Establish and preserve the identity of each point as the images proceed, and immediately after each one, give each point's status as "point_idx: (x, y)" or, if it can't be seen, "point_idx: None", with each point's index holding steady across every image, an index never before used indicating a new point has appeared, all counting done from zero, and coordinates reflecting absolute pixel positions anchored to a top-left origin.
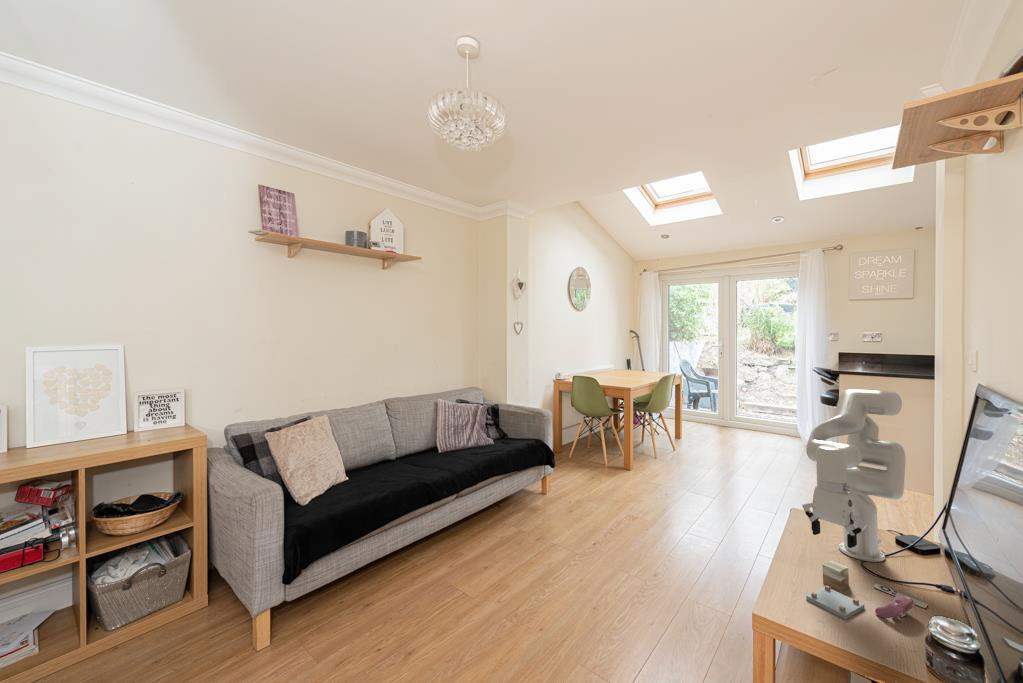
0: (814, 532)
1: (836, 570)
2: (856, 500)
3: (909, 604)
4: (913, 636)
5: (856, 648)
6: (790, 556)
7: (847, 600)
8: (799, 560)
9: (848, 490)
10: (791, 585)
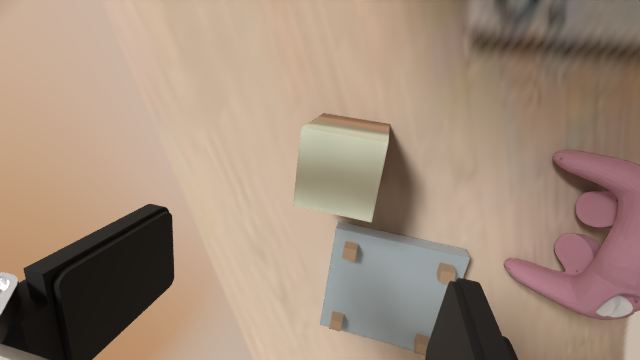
0: (154, 295)
1: (356, 217)
2: None
3: None
4: None
5: None
6: (149, 47)
7: (419, 271)
8: (184, 53)
9: None
10: (262, 267)
